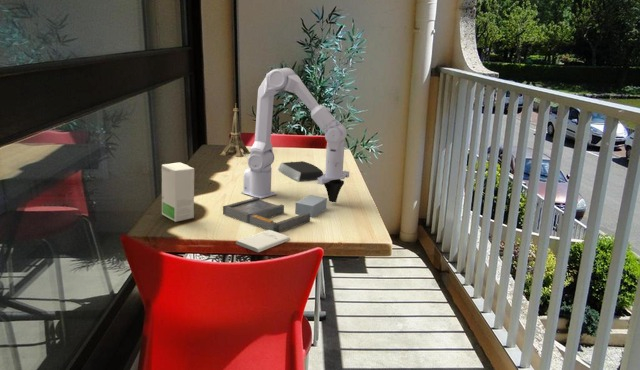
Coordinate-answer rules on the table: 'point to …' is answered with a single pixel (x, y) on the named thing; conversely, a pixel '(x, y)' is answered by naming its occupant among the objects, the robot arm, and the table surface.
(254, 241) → the external hard drive
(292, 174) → the external hard drive
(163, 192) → the skincare box
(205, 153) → the table surface
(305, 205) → the light grey rectangular block
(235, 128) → the eiffel tower
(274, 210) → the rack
